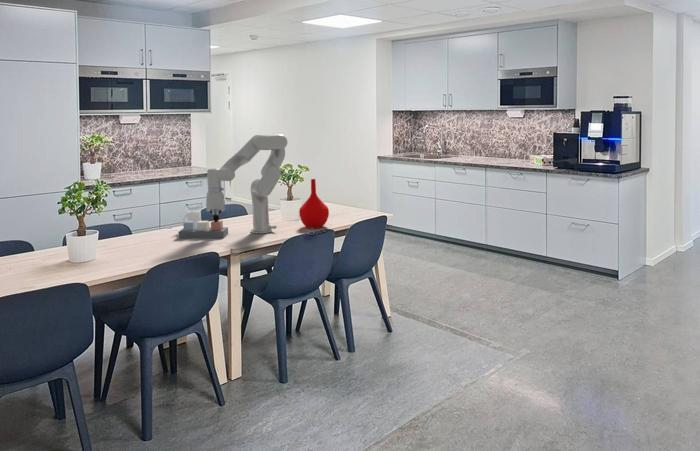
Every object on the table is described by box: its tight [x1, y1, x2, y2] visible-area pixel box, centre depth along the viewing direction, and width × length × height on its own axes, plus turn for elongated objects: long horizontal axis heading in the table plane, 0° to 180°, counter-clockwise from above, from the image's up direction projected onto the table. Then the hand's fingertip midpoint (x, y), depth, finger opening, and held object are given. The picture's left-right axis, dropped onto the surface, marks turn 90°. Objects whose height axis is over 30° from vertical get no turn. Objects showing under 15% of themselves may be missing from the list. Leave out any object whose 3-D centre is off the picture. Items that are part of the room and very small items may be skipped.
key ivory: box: [197, 220, 210, 231], centre depth 355 cm, size 6×6×6 cm
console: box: [177, 226, 229, 240], centre depth 355 cm, size 26×12×4 cm, turn 89°
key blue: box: [182, 220, 196, 231], centre depth 355 cm, size 6×6×6 cm
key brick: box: [210, 219, 224, 230], centre depth 354 cm, size 6×6×6 cm
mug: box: [183, 209, 202, 228], centre depth 370 cm, size 12×8×12 cm
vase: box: [298, 178, 330, 229], centre depth 376 cm, size 18×18×30 cm
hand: (216, 221), depth 354 cm, fingers closed
